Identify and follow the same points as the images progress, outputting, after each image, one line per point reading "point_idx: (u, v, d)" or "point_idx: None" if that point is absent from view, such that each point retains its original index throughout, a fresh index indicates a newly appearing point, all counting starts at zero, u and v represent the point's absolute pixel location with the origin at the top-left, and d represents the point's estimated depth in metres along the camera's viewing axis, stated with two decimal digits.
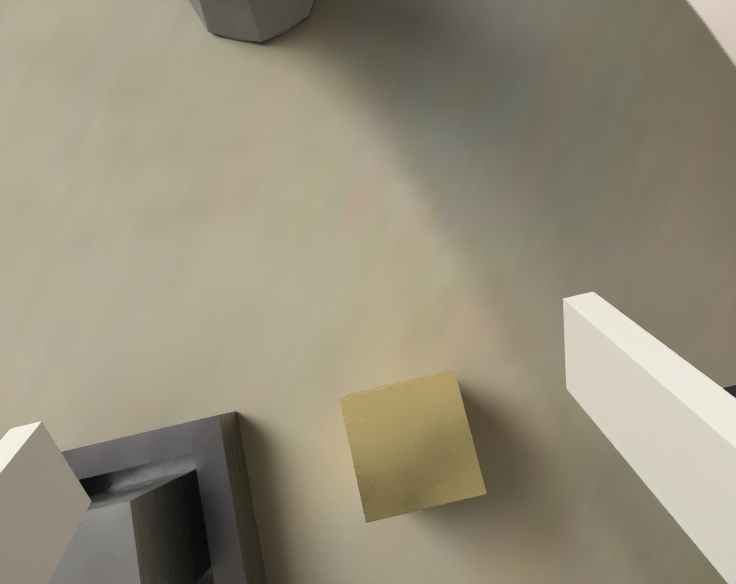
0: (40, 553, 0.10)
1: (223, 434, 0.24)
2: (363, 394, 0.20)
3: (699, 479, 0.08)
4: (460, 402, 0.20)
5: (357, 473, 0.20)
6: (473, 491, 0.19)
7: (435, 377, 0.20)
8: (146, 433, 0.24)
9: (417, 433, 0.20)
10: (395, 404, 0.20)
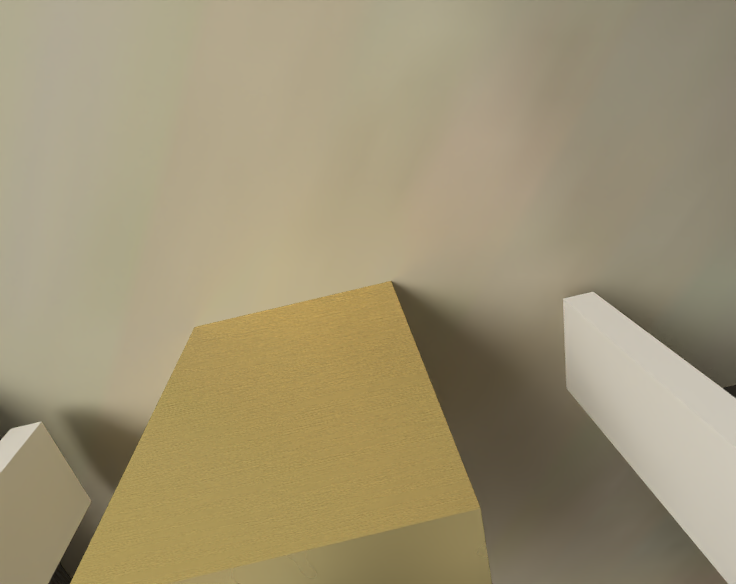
0: (40, 553, 0.10)
1: None
2: None
3: (699, 479, 0.08)
4: (483, 577, 0.06)
5: None
6: None
7: (409, 524, 0.06)
8: None
9: None
10: None
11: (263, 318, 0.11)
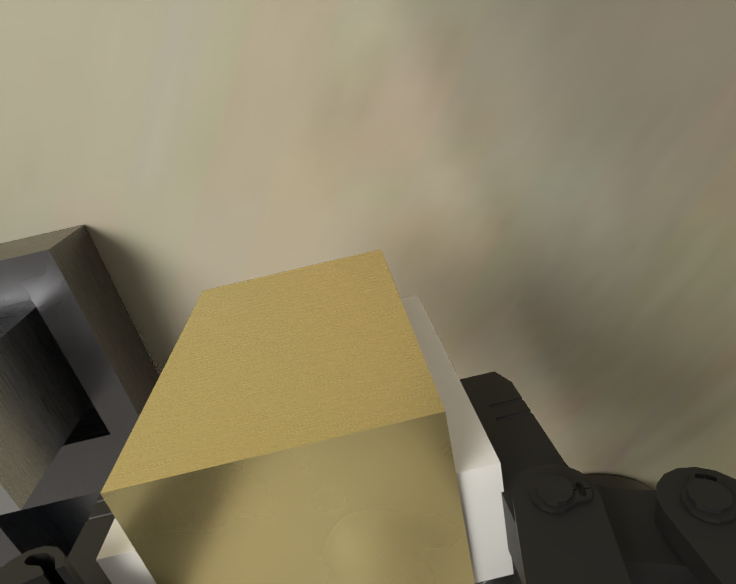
0: None
1: (65, 270, 0.18)
2: (171, 481, 0.07)
3: None
4: (449, 475, 0.07)
5: None
6: None
7: (386, 425, 0.07)
8: None
9: (331, 543, 0.08)
10: (269, 494, 0.07)
11: (265, 282, 0.13)
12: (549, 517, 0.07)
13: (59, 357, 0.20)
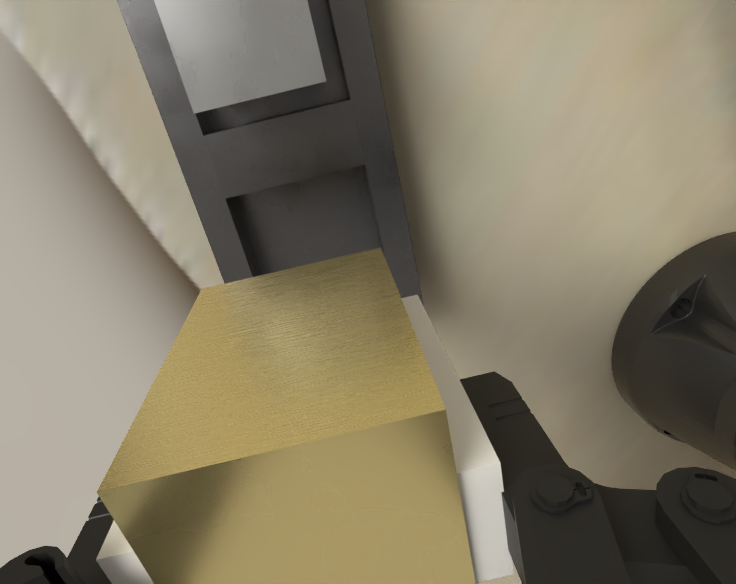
0: None
1: None
2: (169, 479, 0.07)
3: None
4: (450, 474, 0.07)
5: None
6: None
7: (386, 423, 0.07)
8: None
9: (330, 542, 0.08)
10: (267, 493, 0.07)
11: (264, 280, 0.13)
12: (549, 517, 0.07)
13: None
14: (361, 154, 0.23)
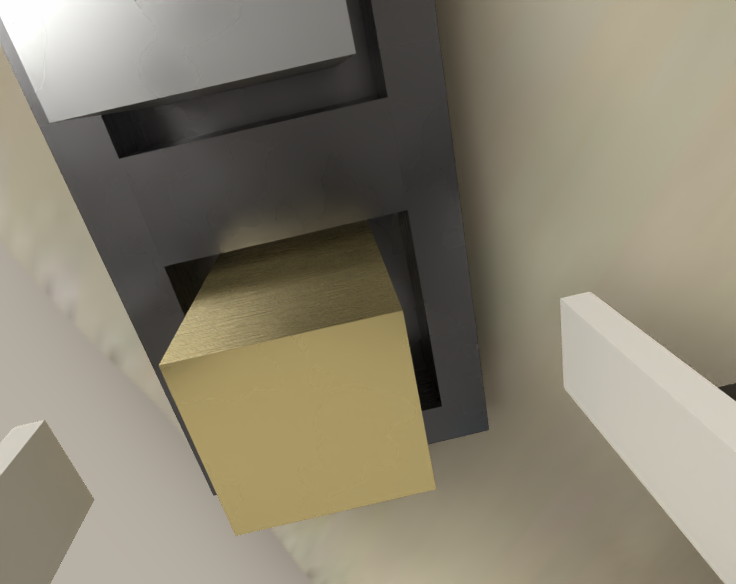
0: (44, 550, 0.10)
1: None
2: (209, 357, 0.10)
3: (694, 478, 0.08)
4: (407, 363, 0.10)
5: (212, 476, 0.11)
6: (415, 487, 0.12)
7: (361, 320, 0.10)
8: None
9: (321, 415, 0.10)
10: (277, 371, 0.10)
11: (271, 244, 0.16)
12: None
13: None
14: (402, 193, 0.13)
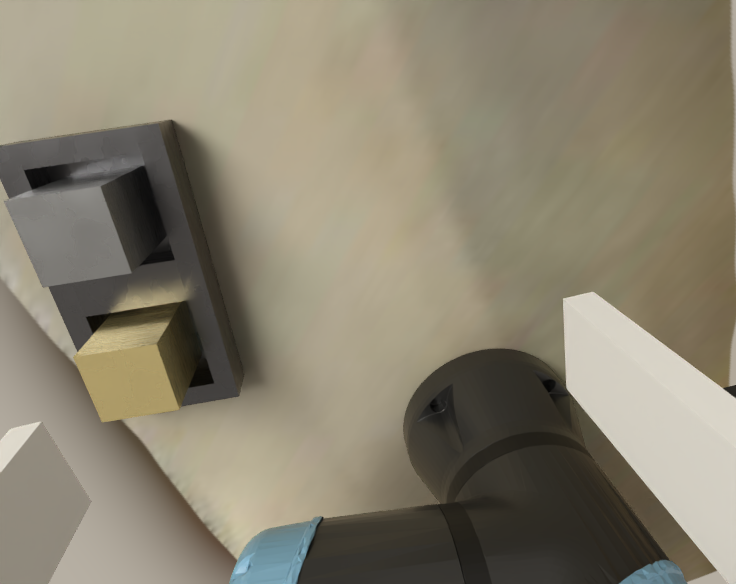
0: (40, 553, 0.10)
1: (164, 139, 0.29)
2: (90, 355, 0.29)
3: (699, 479, 0.08)
4: (161, 361, 0.30)
5: (92, 398, 0.30)
6: (170, 408, 0.31)
7: (142, 346, 0.29)
8: (95, 133, 0.28)
9: (131, 377, 0.30)
10: (114, 361, 0.29)
11: None
12: None
13: (147, 204, 0.31)
14: (185, 294, 0.33)
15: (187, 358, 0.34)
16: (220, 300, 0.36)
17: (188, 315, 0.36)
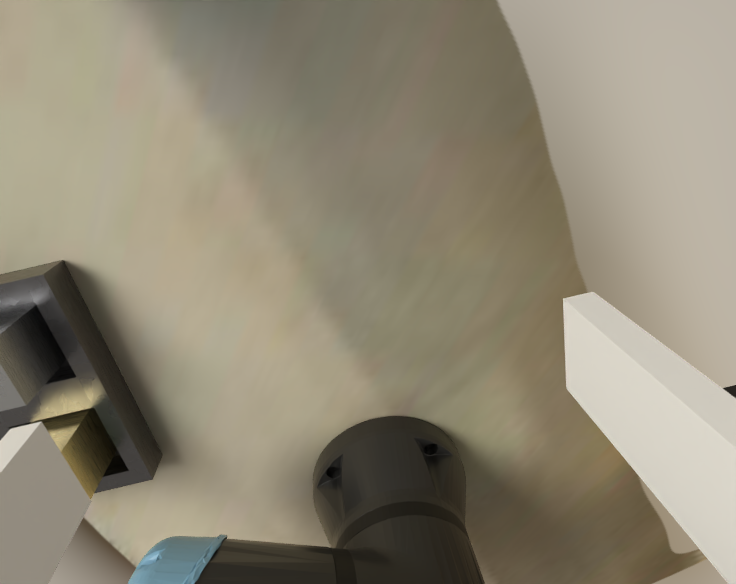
0: (40, 553, 0.10)
1: (51, 285, 0.35)
2: None
3: (699, 479, 0.08)
4: None
5: None
6: None
7: None
8: None
9: None
10: None
11: None
12: None
13: (48, 333, 0.37)
14: (90, 402, 0.38)
15: (99, 453, 0.40)
16: (128, 399, 0.41)
17: None
